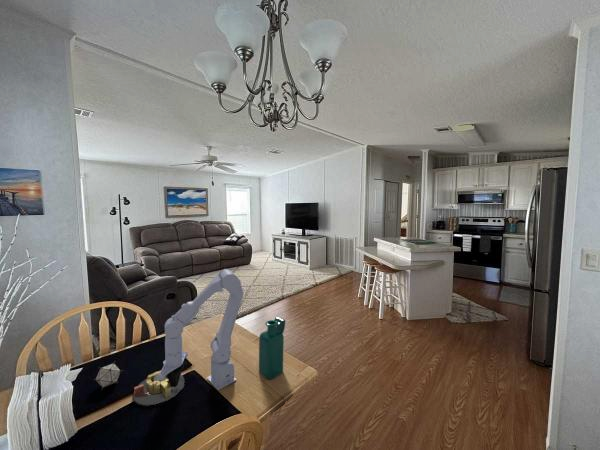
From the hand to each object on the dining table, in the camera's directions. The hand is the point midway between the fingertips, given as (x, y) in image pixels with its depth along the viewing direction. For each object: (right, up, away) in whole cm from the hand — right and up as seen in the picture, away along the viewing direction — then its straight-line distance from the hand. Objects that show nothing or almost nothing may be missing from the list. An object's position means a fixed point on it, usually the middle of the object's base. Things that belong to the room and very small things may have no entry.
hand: (174, 385), depth 97 cm
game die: (-27, -2, +3) cm, 27 cm away
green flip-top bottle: (+35, -3, +13) cm, 38 cm away
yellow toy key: (-5, -1, 0) cm, 5 cm away
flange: (-6, -2, +1) cm, 7 cm away
